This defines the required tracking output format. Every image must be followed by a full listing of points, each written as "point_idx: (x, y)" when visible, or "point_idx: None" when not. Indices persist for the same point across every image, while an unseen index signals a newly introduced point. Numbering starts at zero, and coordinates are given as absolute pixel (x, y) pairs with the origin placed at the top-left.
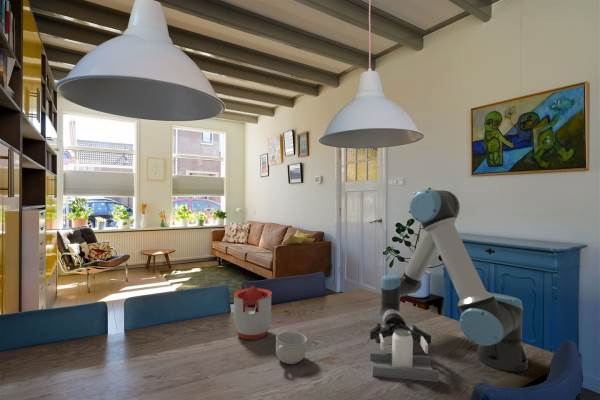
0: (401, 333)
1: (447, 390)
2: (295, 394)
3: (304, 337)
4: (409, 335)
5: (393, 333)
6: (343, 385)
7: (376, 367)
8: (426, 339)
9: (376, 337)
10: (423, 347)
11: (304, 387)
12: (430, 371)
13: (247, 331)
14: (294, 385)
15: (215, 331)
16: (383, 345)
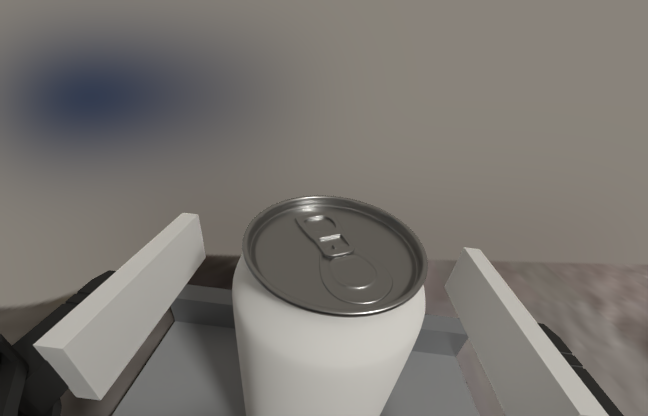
0: (347, 236)
1: (198, 269)
2: (593, 263)
3: None
4: (292, 199)
5: (422, 286)
6: (515, 292)
7: (445, 317)
8: (34, 333)
9: (577, 361)
10: (174, 283)
11: (605, 285)
12: (212, 288)
13: None
14: (639, 293)
15: None
16: (457, 264)
